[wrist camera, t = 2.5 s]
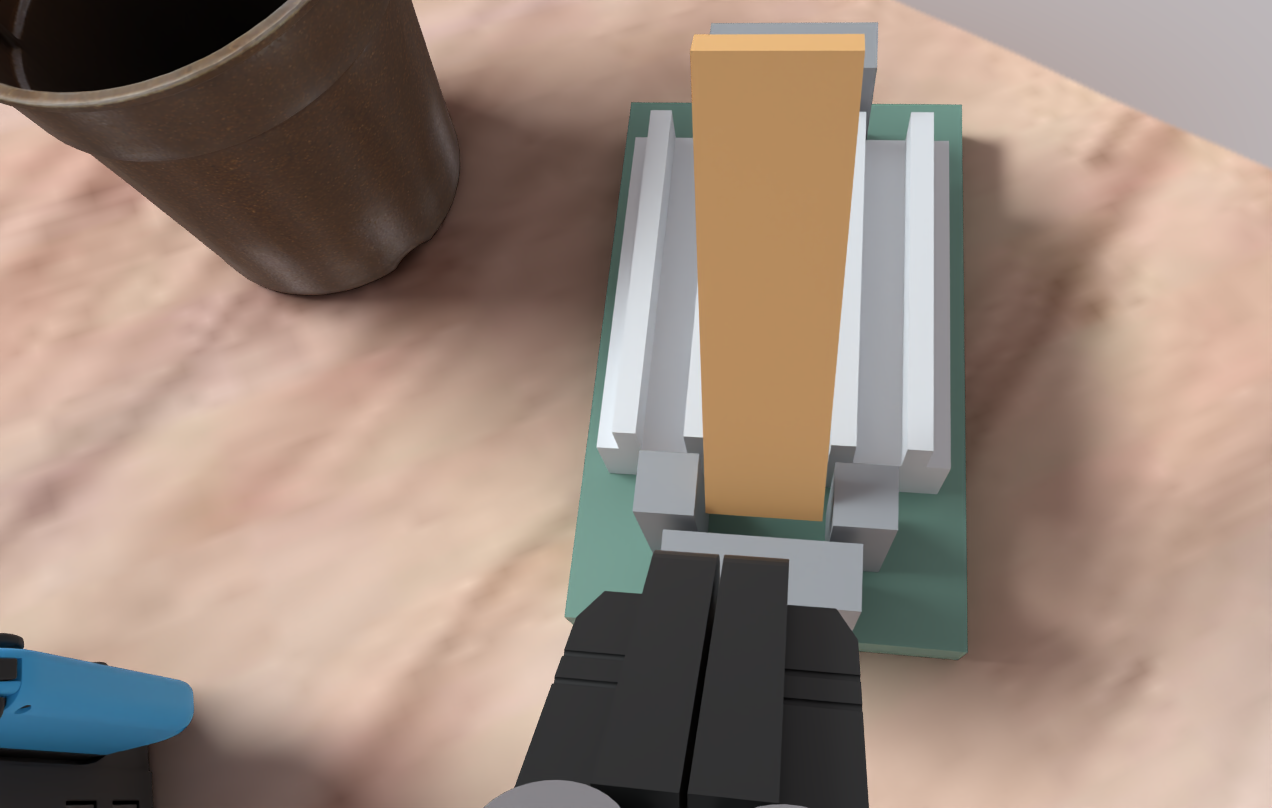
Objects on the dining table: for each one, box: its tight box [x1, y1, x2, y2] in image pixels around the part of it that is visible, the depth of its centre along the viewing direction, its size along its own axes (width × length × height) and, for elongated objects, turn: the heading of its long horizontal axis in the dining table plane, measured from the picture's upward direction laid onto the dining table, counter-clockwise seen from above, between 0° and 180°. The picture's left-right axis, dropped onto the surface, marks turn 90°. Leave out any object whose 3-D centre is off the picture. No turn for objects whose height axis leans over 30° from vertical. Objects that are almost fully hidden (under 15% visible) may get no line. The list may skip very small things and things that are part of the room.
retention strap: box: [690, 34, 865, 521], centre depth 26 cm, size 15×4×1 cm
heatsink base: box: [565, 23, 968, 660], centre depth 37 cm, size 14×22×8 cm, turn 174°
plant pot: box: [0, 0, 460, 295], centre depth 40 cm, size 16×16×16 cm
